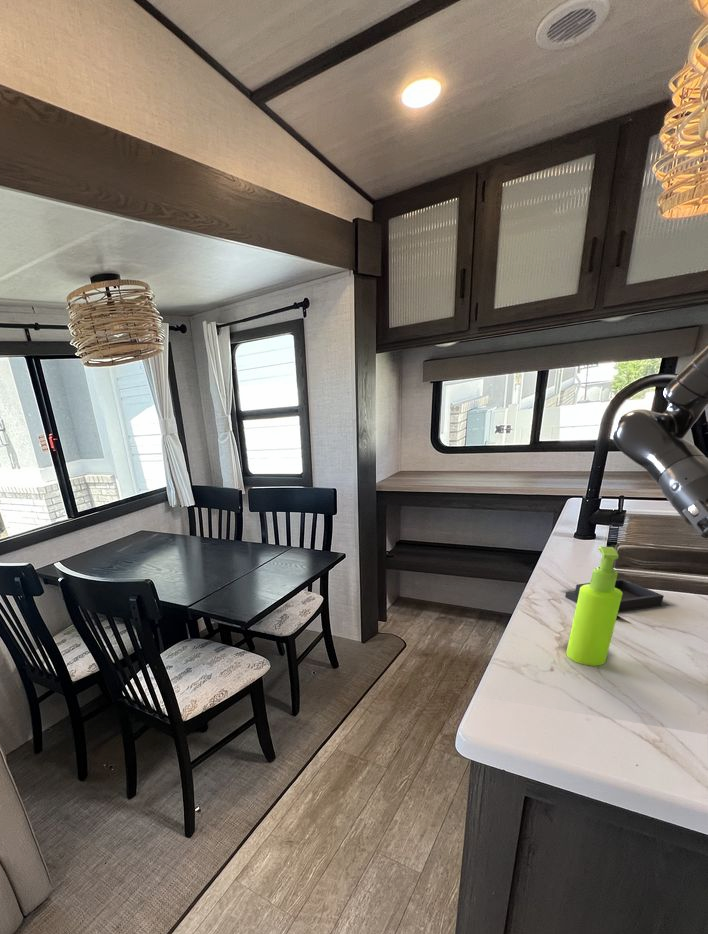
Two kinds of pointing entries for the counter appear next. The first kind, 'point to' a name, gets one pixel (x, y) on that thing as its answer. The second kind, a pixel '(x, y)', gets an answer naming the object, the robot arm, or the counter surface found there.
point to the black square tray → (629, 596)
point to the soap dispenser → (595, 613)
